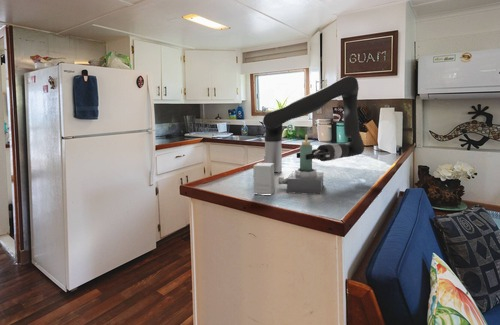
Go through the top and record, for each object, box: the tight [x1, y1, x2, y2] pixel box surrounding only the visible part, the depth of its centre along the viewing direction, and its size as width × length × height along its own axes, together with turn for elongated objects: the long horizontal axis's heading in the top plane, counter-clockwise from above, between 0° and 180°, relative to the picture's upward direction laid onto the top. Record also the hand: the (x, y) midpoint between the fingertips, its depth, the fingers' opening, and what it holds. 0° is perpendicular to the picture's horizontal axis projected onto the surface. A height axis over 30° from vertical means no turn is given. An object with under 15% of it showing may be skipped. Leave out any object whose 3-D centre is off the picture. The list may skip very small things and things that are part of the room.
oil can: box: [299, 134, 313, 172], centre depth 135 cm, size 5×5×17 cm
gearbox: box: [277, 167, 324, 195], centre depth 137 cm, size 19×16×8 cm
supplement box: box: [252, 162, 276, 195], centre depth 131 cm, size 7×7×13 cm
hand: (301, 156), depth 133 cm, fingers closed on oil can, 5 cm apart
